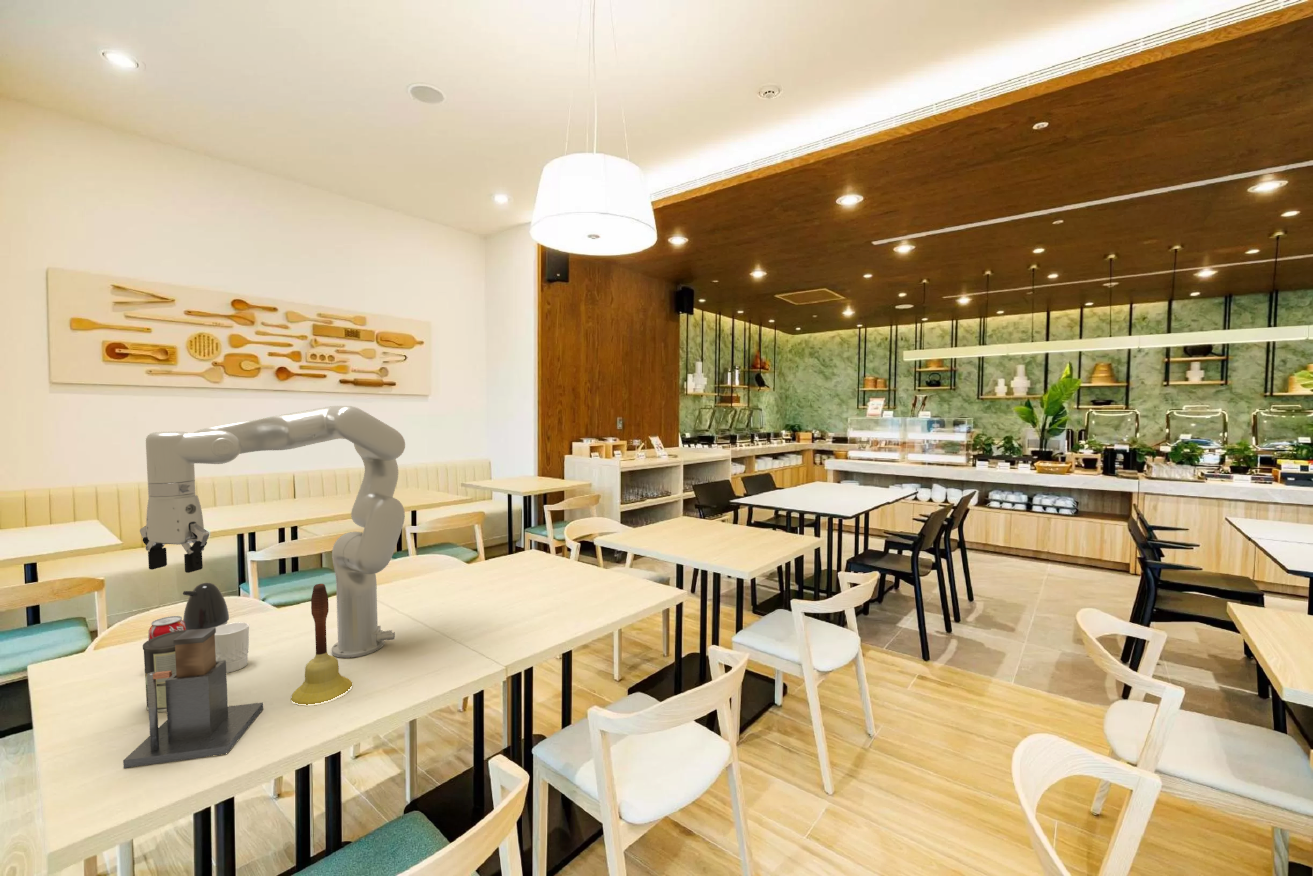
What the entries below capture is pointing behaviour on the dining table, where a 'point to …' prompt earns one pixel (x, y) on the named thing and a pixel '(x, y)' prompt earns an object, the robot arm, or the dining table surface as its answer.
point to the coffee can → (160, 663)
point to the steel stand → (192, 719)
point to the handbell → (321, 660)
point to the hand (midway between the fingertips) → (175, 569)
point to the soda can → (166, 626)
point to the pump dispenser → (205, 608)
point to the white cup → (232, 645)
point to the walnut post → (195, 652)
